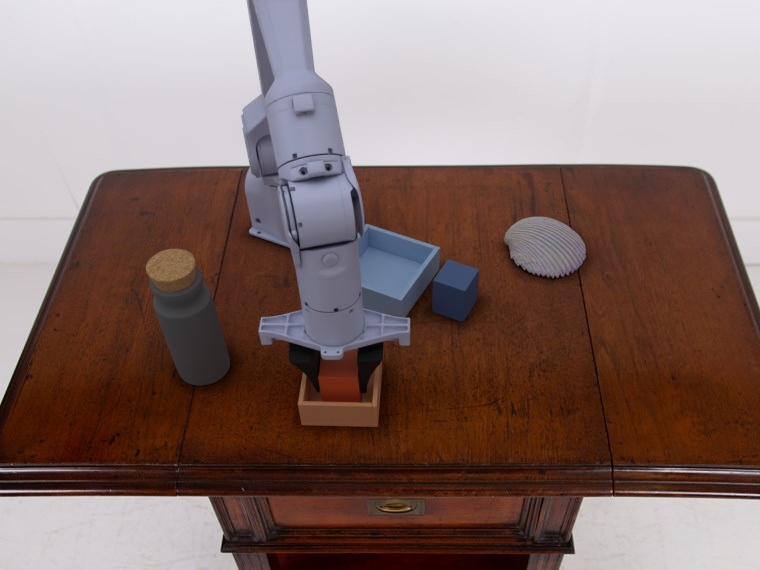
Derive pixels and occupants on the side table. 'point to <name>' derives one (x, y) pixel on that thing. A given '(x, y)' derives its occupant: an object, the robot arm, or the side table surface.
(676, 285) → the side table surface
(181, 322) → the bottle
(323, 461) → the side table surface
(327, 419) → the warm bin
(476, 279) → the slate block
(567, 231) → the seashell
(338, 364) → the terracotta block
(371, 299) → the bin
